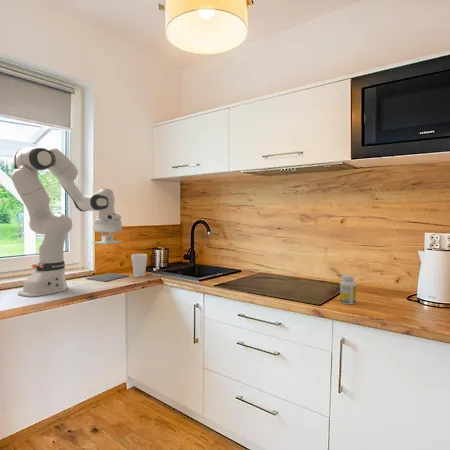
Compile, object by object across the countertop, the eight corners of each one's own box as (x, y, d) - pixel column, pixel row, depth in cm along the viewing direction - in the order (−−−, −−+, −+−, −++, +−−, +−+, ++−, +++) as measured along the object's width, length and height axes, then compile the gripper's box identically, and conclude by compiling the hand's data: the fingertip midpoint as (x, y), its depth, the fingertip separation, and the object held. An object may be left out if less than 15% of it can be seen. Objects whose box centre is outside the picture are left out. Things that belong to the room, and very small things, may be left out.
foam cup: (130, 275, 209) (130, 254, 208) (145, 273, 213) (145, 253, 212) (133, 277, 200) (132, 256, 200) (148, 276, 204) (148, 255, 204)
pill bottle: (354, 301, 148) (355, 275, 148) (356, 305, 142) (357, 277, 142) (339, 300, 150) (339, 274, 150) (340, 304, 144) (340, 277, 143)
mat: (105, 281, 190) (105, 280, 190) (86, 279, 197) (86, 278, 197) (128, 276, 205) (128, 275, 205) (109, 273, 213) (109, 273, 213)
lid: (106, 244, 192) (106, 236, 192) (92, 243, 198) (92, 236, 198) (122, 242, 203) (122, 235, 203) (108, 241, 208) (107, 234, 208)
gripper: (90, 216, 202) (90, 239, 202) (115, 216, 192) (115, 240, 193) (98, 216, 207) (99, 238, 208) (123, 216, 198) (123, 239, 198)
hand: (107, 239), depth 200 cm, fingers closed on lid, 3 cm apart
